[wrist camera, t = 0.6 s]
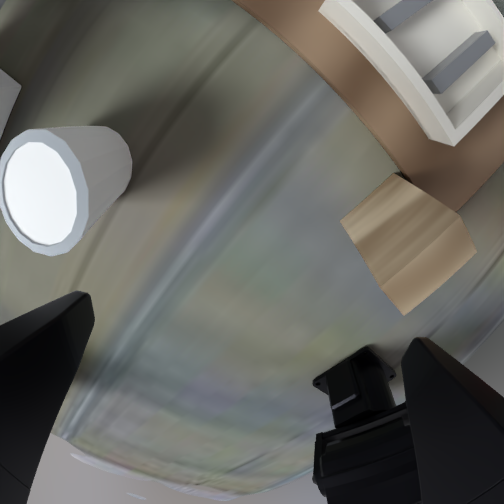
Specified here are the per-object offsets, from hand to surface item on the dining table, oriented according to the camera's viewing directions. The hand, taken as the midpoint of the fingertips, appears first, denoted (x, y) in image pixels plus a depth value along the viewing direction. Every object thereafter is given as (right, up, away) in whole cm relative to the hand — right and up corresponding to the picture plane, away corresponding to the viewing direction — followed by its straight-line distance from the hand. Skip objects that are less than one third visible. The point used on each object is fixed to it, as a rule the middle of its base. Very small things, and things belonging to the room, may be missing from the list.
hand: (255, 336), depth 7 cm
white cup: (-11, +8, +11) cm, 17 cm away
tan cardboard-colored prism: (+8, +5, +12) cm, 15 cm away
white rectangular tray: (+11, +16, +5) cm, 20 cm away
